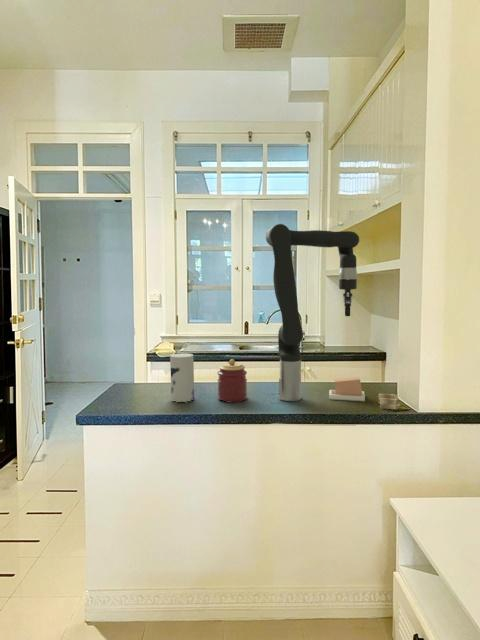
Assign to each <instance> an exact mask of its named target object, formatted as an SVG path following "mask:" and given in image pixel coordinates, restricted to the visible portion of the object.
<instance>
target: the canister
mask: <svg viewBox="0 0 480 640" xmlns="http://www.w3.org/2000/svg"><path fill="white" fill-rule="evenodd" d="M245 368H246V367H245V366H244V365H243V364H242V363H239V362H236V361H235V359H233V358H232V359H230V360H229V362H226V363H222V364H221V365H220V366H219V371H217V375H218V379H217V397H218V398H219V399H220V400H223V401H231V402H230V403H239V402H238V401H241V402H243V400H244V401H246V400H247V399H246V398H248V391H247V389H248V385H247V381H248V379H247V374H248V372H247V371H246V370H245ZM218 398H217V399H218ZM219 399H218V400H219ZM245 399H246V400H245ZM220 400H219V401H220ZM223 401H222V402H223Z"/></svg>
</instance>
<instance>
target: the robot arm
mask: <svg viewBox="0 0 480 640" xmlns="http://www.w3.org/2000/svg"><path fill="white" fill-rule="evenodd" d="M265 240H266V243H267V244H268V245H269V246H270V247H272V252H273V257H274V259H273V260H274V261H273V262H274V264H273V277H272V278H273V281H272V282H273V288H274V295H275V299H276V301H277V305H278V307H279V310H280V314H281V320H282V325H281V326H280V327H279V329H278V333H277V334H278V336H277V337H278V339H277V341H278V354H279V378H278V400H280V401H286V402H296V401H300V400H301V399H302V354H301V351H300V344H301V342H302V340H303V337H304V331H303V328H302V323H301V319H300V316H299V315H300V313H299V304H298V293H297V283H296V277H295V271H294V263H293V258H292V246H303V247H314V248H315V247H316V248H317V247H318V248H337V250H338V256H339V273H338V288H339V290H344V293H342V294H343V295H342V298H343V304H344V315H345V317H351V307H352V303H353V302H352V301H353V293H352V292H351V291H352V290H356V289H358V288H357V284H358V272H357V256H356V255H355V254H354V248H355V247H356V246H358V245H359V243H360V236H359V234H357V232H354V231H350V230H348V231H347V230H346V231H345V230H344V231H343V230H341V231H334V230H333V231H332V230H320V229H318V230H315V229H312V230H292V229H289V227H288V226H286V225H285V224H283V223H277V224H274V225H273V226H271V227H269V229H268V230H267V232H266V234H265Z"/></svg>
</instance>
